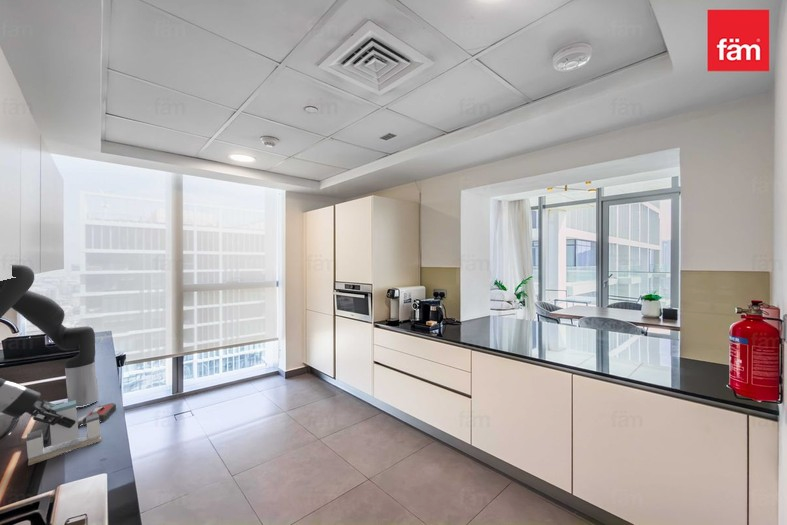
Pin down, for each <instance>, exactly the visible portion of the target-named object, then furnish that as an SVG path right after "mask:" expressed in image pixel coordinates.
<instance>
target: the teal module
mask: <svg viewBox="0 0 787 525" xmlns="http://www.w3.org/2000/svg"><path fill="white" fill-rule="evenodd" d="M54 405H55V406H54V407H51V408H53V410H56V411H57V413H58V414H60V415H63V416H64V417H67V418H70V419H72V420H75V421H76V422H75V424H74V425H73V426H72V427H71V428H67V427H64V426H62V425H59V424H55V425H50V424H49V431H50V441H51V442H50V444H51V446H55V445H58V444H61V443H64V442H67V441H70V440H73V439H76V438H79V437H80V435H79V434H80V433H79V427H78V421H77V420H78V412H77V409H76V400H74V401H70V402H68V401H67V402H64V403H59V404H54ZM50 413H52V411H50ZM54 419H55V418H54V417H52V418H51V420H54Z"/></svg>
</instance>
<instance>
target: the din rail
mask: <svg viewBox="0 0 787 525" xmlns="http://www.w3.org/2000/svg"><path fill="white" fill-rule="evenodd" d="M100 436H101V435H99V436H95V437H92V438H89V439H88V434H87V433H86V434H84V435H79V438H76V439H73V440H70V441H67V442H64V443H61V444H58V445H55V446H52V445H49V446H46V447H45V446H44V450H43V454H41V455H38V456H35V457H32V458H29V459H28V460H29V461H32V460H35V459H38V458H41V457H44V456H47V455H50V454H53V453H56V452H59V451H62V450H65V449H68V448H71V447H74V446H77V445H80V444H83V443H86V442H89V441H92V440H95V439H98V438H100Z"/></svg>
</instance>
